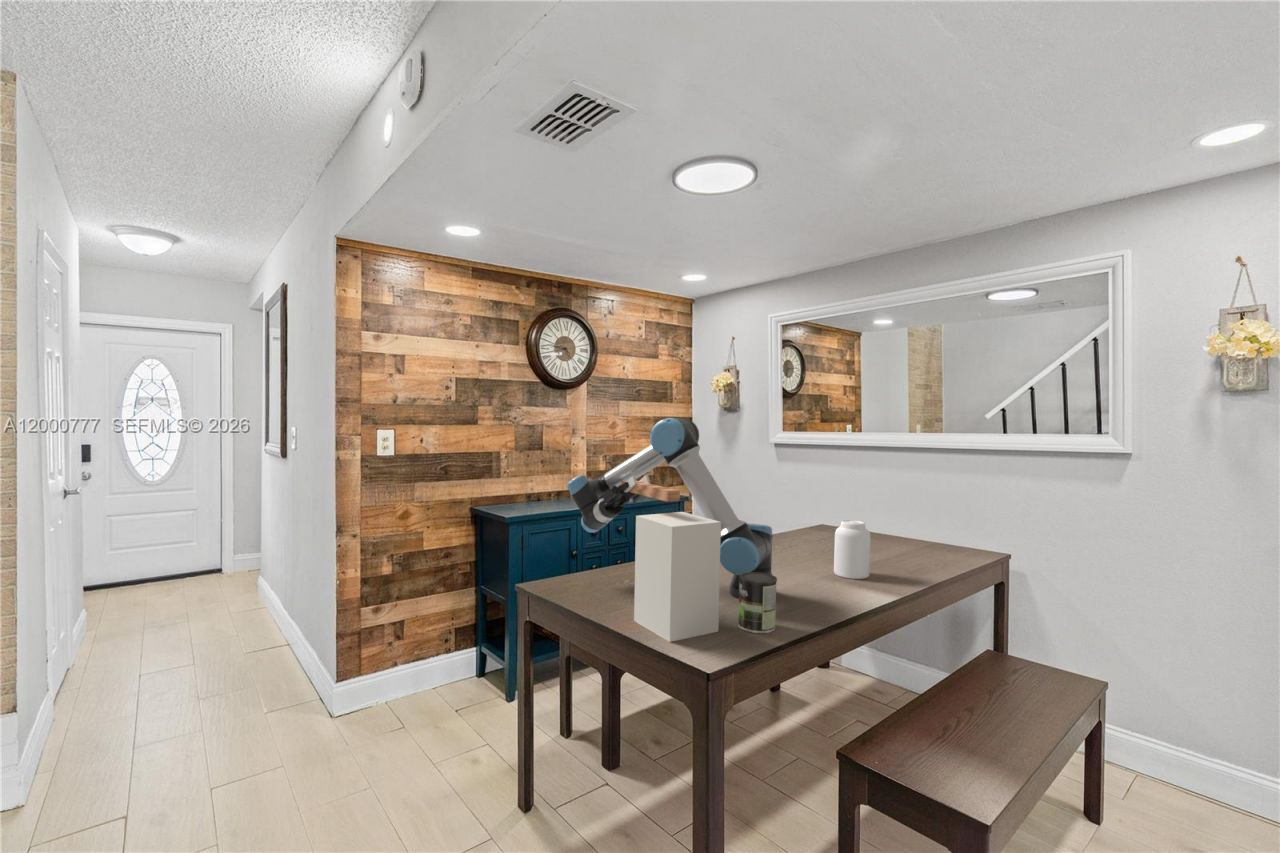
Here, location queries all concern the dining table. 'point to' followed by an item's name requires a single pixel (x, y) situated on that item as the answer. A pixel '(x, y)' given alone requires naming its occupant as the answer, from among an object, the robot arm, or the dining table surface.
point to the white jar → (852, 550)
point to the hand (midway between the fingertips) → (641, 479)
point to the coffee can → (757, 602)
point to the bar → (655, 491)
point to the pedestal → (677, 574)
